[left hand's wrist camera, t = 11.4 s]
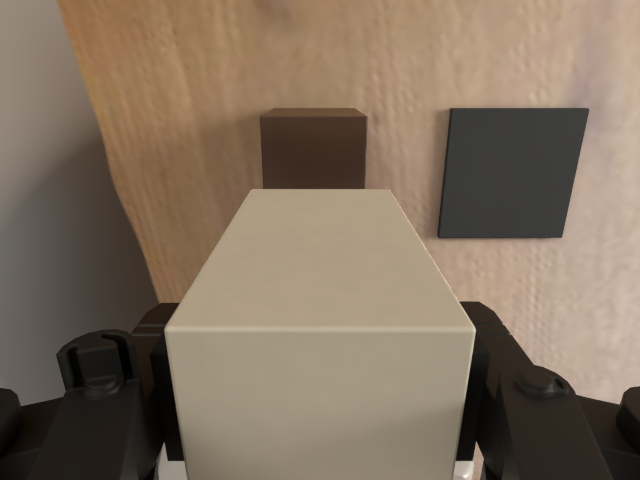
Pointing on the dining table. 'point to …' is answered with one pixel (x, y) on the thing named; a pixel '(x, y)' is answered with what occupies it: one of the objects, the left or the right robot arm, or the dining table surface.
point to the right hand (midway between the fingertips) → (315, 377)
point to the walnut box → (313, 148)
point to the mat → (509, 171)
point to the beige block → (320, 346)
